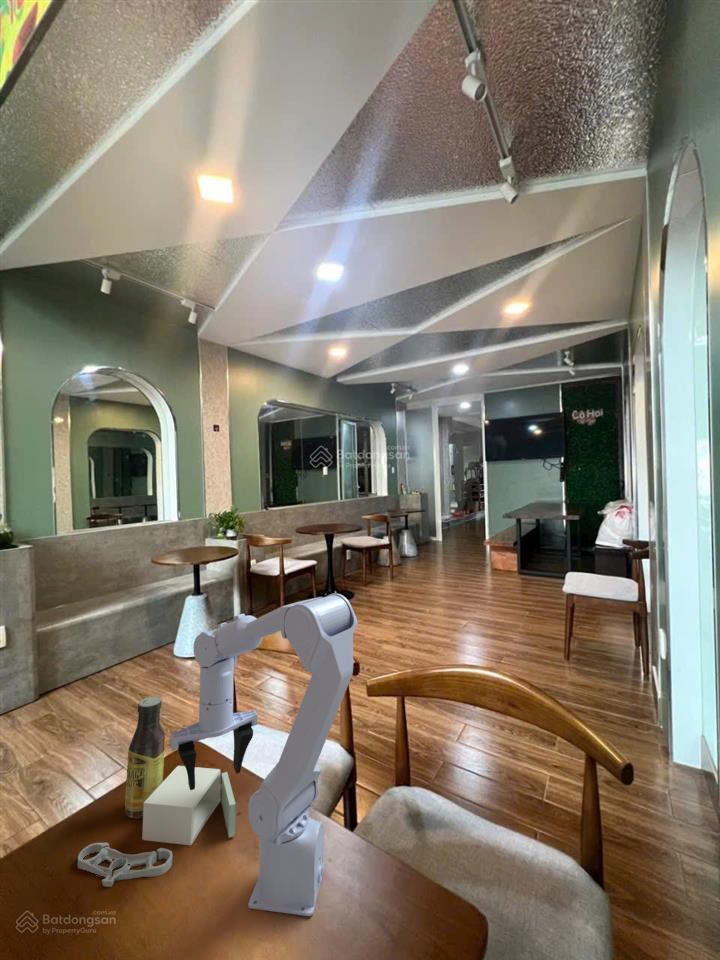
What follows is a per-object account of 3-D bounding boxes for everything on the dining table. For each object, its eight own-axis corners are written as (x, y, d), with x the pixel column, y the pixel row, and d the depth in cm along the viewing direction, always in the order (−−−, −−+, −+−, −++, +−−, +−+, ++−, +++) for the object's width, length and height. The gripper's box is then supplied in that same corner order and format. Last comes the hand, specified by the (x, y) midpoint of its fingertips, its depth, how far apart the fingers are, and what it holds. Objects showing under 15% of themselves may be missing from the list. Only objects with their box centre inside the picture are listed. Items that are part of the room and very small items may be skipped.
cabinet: (219, 801, 75) (220, 769, 76) (190, 845, 66) (191, 807, 66) (176, 797, 77) (177, 765, 77) (142, 839, 67) (143, 802, 67)
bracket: (114, 824, 68) (177, 850, 63) (114, 835, 68) (177, 863, 63) (68, 859, 62) (134, 893, 56) (68, 872, 61) (134, 907, 56)
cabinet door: (226, 797, 76) (226, 769, 77) (235, 835, 67) (236, 803, 68) (219, 799, 76) (220, 770, 76) (228, 838, 67) (229, 805, 67)
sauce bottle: (117, 812, 73) (122, 702, 75) (150, 792, 78) (154, 690, 80) (136, 827, 69) (141, 711, 71) (169, 805, 75) (173, 698, 76)
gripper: (250, 680, 77) (249, 752, 76) (169, 699, 69) (166, 780, 68) (261, 693, 71) (260, 772, 70) (174, 716, 63) (171, 805, 62)
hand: (214, 778), depth 68 cm, fingers open, 7 cm apart
